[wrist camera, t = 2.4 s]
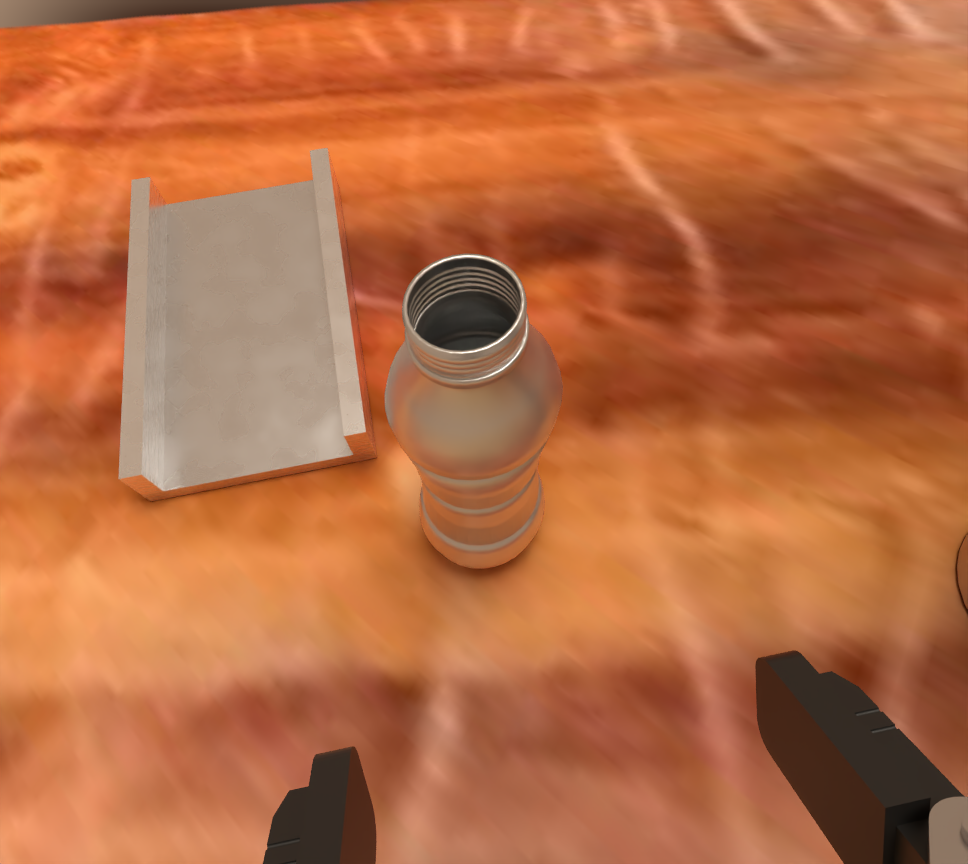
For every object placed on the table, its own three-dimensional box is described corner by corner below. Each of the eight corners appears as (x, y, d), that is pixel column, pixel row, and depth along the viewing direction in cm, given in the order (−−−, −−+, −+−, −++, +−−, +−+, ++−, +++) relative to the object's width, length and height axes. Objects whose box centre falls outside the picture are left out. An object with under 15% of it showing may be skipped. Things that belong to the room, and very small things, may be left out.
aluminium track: (377, 457, 39) (365, 432, 36) (150, 501, 38) (118, 479, 35) (339, 187, 49) (327, 147, 45) (156, 217, 48) (131, 180, 45)
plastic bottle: (400, 523, 37) (302, 309, 19) (485, 443, 39) (467, 183, 21) (482, 604, 35) (458, 450, 17) (567, 516, 37) (624, 295, 19)
